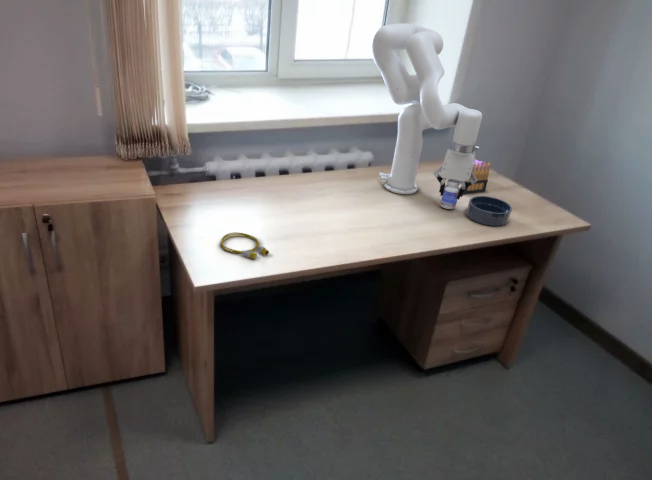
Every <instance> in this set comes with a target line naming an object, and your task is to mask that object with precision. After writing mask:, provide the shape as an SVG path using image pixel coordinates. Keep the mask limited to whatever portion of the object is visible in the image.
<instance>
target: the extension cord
mask: <svg viewBox="0 0 652 480" xmlns="http://www.w3.org/2000/svg"><path fill="white" fill-rule="evenodd" d="M234 237H236V238H237V237H240V238H241V237H242V238H248V239H252V240H254V241H255V242H256V244H255V245H254V247H253V248H251V249H247V250H236V249H232V248H229V247H227V246H225V245H224V243H225V241H227V240H229V239H231V238H234ZM220 243H221V247H222V249H223V250H225V251H226V252H229V253H231V254H241V255H243V256H244V257H246V258H250V259H252V260H256V258H257V257H258V254H257V253H256V252H255V251H256V250H258V251H259V253H261V254H262V255H265V256H268V255H270V251H269V250H268V249H267V248H266V247H264V246H262V245H260V241H259V240H258V239H257V237H254V236H253V235H251V234H248V233H243V232H230V233H226V234H224V235H223V237H222V238H221V241H220Z"/></svg>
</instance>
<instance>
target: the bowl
mask: <svg viewBox="0 0 652 480" xmlns="http://www.w3.org/2000/svg"><path fill="white" fill-rule="evenodd" d="M512 210H513V208H512V205H510V204H509V203H508V202H507V201H505V200H503V199H500V198H496V197H493V196H489V195H477V196H472V197H471V198H469V201H468V205H467V208H466V211H465V214H466V216H467V217H468V218H469V219H470V220H472V221H474V222H476V223H479V224H482V225H486V226H492V227H493V226H494V227H497V226H499V227H500V226H504V225H506V224H507V223H508V222H509V220H510V217H511V214H512Z"/></svg>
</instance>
